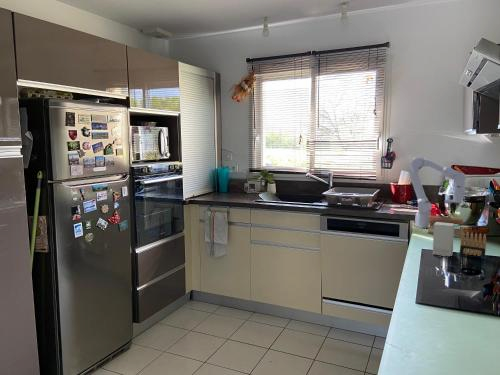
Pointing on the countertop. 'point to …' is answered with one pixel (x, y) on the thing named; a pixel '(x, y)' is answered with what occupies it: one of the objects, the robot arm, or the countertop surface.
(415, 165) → the robot arm
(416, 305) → the countertop surface
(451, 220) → the lid
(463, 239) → the ammunition clip
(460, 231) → the storage box
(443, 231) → the skincare box
